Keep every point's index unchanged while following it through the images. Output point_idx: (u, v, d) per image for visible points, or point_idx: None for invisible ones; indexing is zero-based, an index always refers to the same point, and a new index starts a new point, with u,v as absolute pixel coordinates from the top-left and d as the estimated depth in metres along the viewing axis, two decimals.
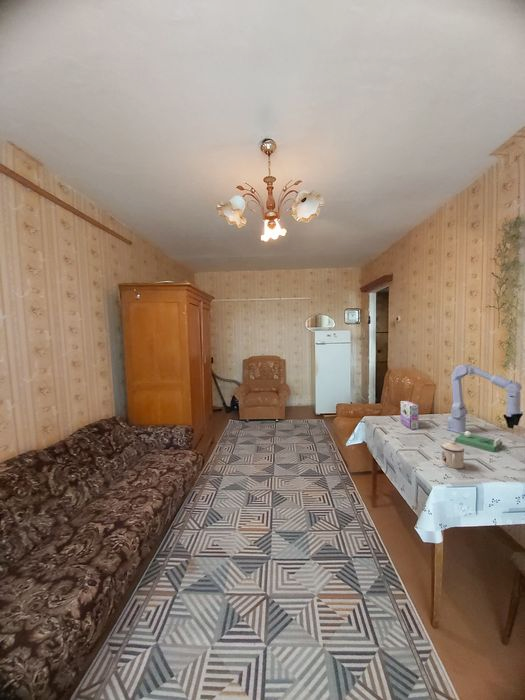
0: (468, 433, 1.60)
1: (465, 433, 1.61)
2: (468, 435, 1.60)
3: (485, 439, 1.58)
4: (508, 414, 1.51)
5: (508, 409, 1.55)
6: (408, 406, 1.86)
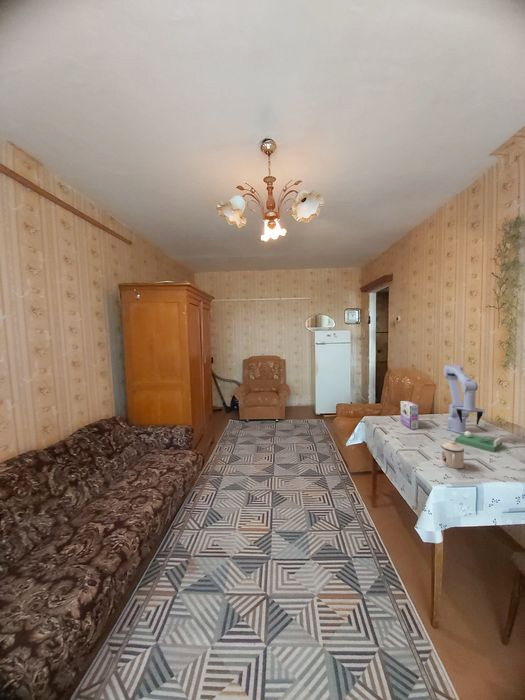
0: (468, 433, 1.60)
1: (465, 433, 1.61)
2: (468, 435, 1.60)
3: (485, 439, 1.58)
4: (454, 407, 1.68)
5: None
6: (408, 406, 1.86)
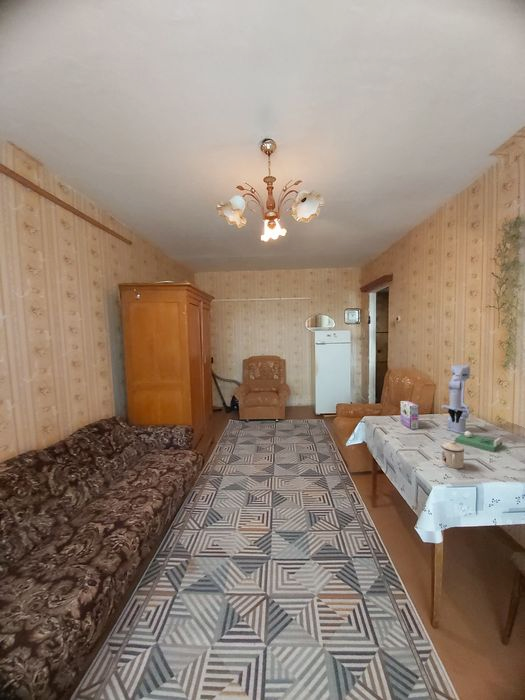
0: (468, 433, 1.60)
1: (465, 433, 1.61)
2: (468, 435, 1.60)
3: (485, 439, 1.58)
4: None
5: None
6: (408, 406, 1.86)
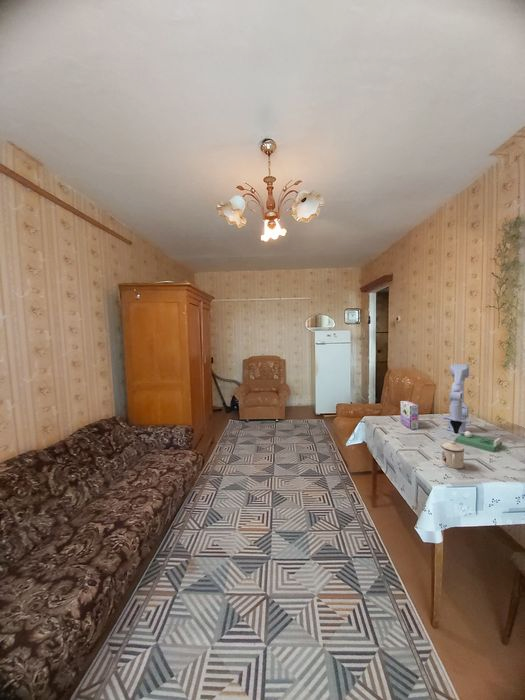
0: (468, 433, 1.60)
1: (465, 433, 1.61)
2: (468, 435, 1.60)
3: (485, 439, 1.58)
4: None
5: None
6: (408, 406, 1.86)
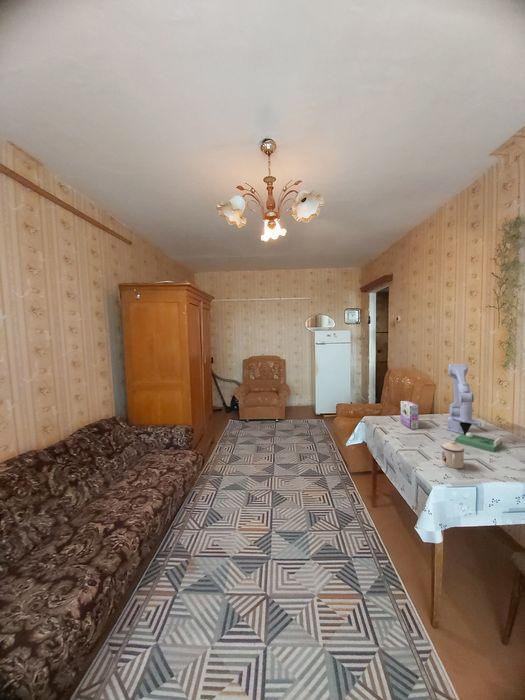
0: (470, 434, 1.60)
1: (466, 433, 1.61)
2: (469, 436, 1.60)
3: (485, 439, 1.58)
4: None
5: None
6: (408, 406, 1.86)
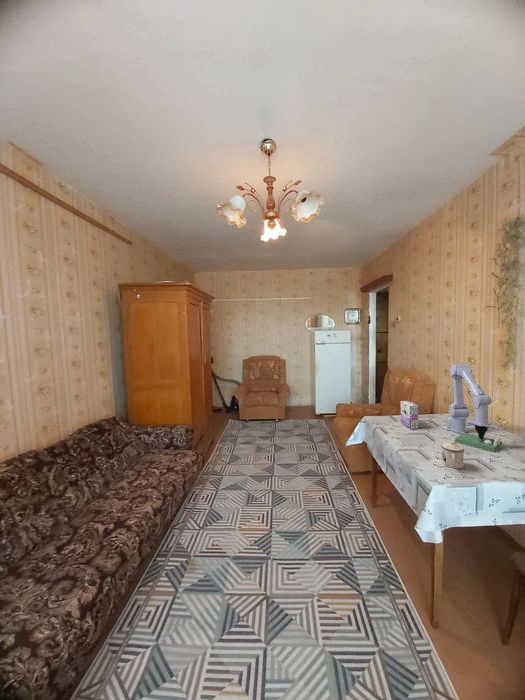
0: (486, 440, 1.54)
1: None
2: (487, 442, 1.53)
3: (485, 439, 1.58)
4: None
5: None
6: (408, 406, 1.86)
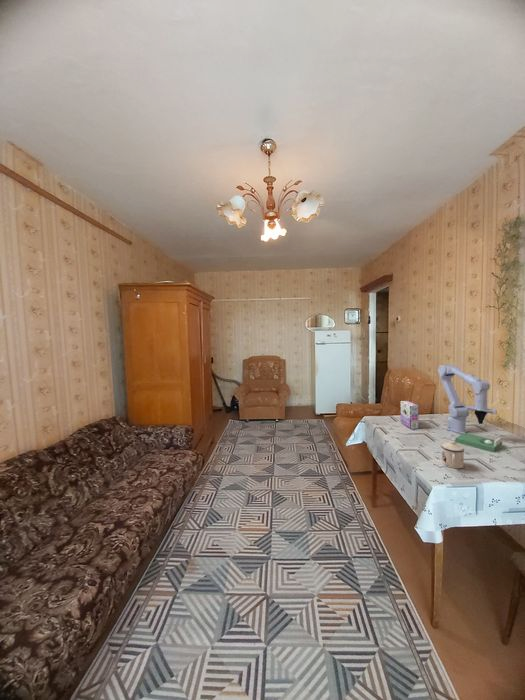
0: (486, 441, 1.54)
1: None
2: (488, 443, 1.53)
3: (485, 439, 1.58)
4: None
5: None
6: (408, 406, 1.86)
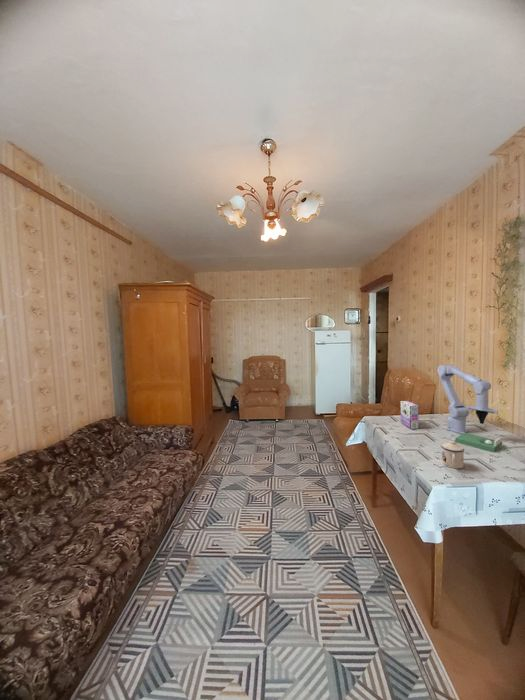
0: (487, 441, 1.53)
1: None
2: (488, 443, 1.53)
3: (485, 439, 1.58)
4: None
5: None
6: (408, 406, 1.86)
